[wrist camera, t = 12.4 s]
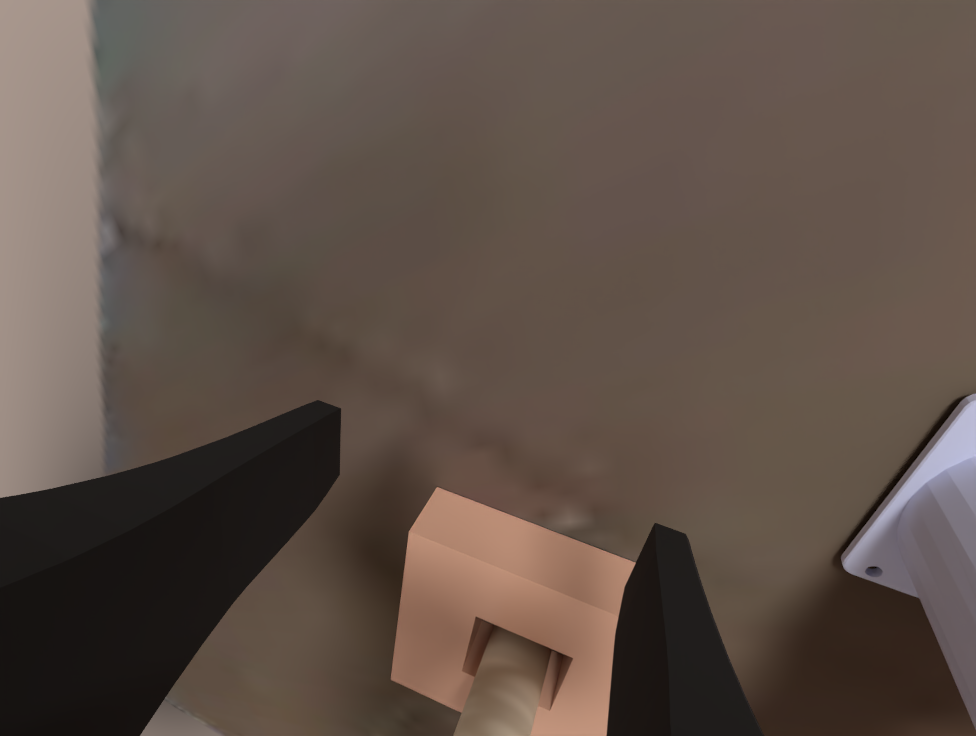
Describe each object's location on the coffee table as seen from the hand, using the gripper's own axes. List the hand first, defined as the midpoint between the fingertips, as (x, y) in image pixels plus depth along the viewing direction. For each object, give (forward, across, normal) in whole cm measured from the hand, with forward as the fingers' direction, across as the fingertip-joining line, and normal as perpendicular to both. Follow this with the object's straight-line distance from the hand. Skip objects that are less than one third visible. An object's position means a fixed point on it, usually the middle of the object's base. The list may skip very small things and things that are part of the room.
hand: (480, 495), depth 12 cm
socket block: (+9, -2, +16) cm, 19 cm away
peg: (+9, -2, +16) cm, 19 cm away
